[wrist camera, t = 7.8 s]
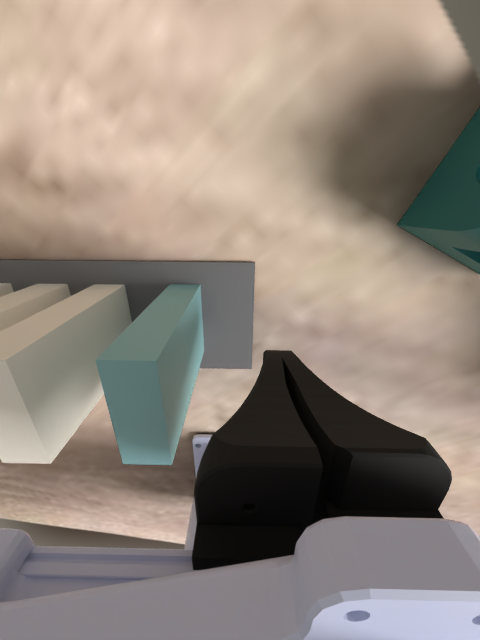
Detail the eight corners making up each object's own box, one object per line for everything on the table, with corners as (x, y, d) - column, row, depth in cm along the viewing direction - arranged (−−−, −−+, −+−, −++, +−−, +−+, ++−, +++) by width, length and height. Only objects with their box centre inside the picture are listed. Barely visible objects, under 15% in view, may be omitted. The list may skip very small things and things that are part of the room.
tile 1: (204, 350, 18) (172, 465, 10) (177, 350, 18) (123, 464, 10) (200, 284, 16) (156, 360, 8) (170, 284, 16) (95, 360, 8)
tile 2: (137, 350, 18) (51, 463, 10) (110, 349, 18) (2, 462, 10) (124, 284, 16) (5, 360, 8) (94, 284, 16) (-55, 359, 8)
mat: (251, 366, 19) (251, 368, 19) (-56, 362, 20) (-60, 364, 19) (254, 262, 16) (254, 262, 16) (-114, 258, 16) (-120, 259, 16)
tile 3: (86, 349, 18) (-41, 462, 10) (59, 349, 19) (-89, 461, 10) (67, 283, 16) (-109, 358, 8) (37, 283, 16) (-169, 357, 8)
